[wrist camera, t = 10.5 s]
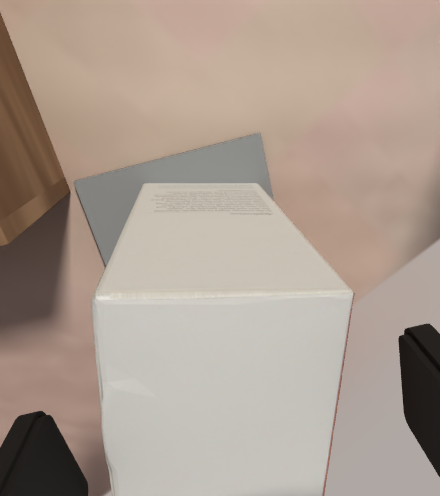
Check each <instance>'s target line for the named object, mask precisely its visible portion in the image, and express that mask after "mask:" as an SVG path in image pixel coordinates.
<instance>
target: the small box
mask: <svg viewBox="0 0 440 496" xmlns="http://www.w3.org/2000/svg"><path fill="white" fill-rule="evenodd" d="M354 294H355V293H354V292H353V291H352V290H351V289H350V288H349V287H348V285H347V284H346V283H345V282H344V281H343V280H342V278H341V277H340V276H339V275H338V274H337V273H336V272H335V271H334V269H333V268H332V267H331V266H330V265H329V264H328V263H327V261H326V260H325V259H324V258H323V257H322V256H321V255H320V253H319V252H318V251H317V250H316V249H315V248H314V246H313V245H312V244H311V243H310V242H309V241H308V240H307V239H306V238H305V236H304V235H303V234H302V233H301V232H300V231H299V229H298V228H297V227H296V226H295V225H294V224H293V223H292V222H291V220H290V219H289V218H288V217H287V216H286V215H285V214H284V212H283V211H282V210H281V209H280V208H279V207H278V206H277V204H276V203H275V202H274V201H273V200H272V199H271V197H269V196H268V194H267V193H266V192H265V191H264V190H263V189H262V187H261V186H260V185H259V184H258V183H145V184H143V185H142V188H141V190H140V193H139V195H138V197H137V199H136V202H135V204H134V206H133V208H132V210H131V213H130V215H129V217H128V219H127V221H126V223H125V226H124V228H123V230H122V232H121V235H120V237H119V239H118V241H117V243H116V246H115V248H114V251H113V253H112V255H111V257H110V259H109V262H108V264H107V266H106V268H105V270H104V273H103V275H102V277H101V279H100V282H99V284H98V286H97V288H96V291H95V293H94V295H93V298H92V318H93V331H94V341H95V353H96V363H97V371H98V383H99V393H100V404H101V421H102V436H103V443H104V449H105V458H106V462H107V465H108V470H109V476H110V483H111V490H112V496H324V493H325V485H326V479H327V472H328V466H329V459H330V453H331V446H332V439H333V430H334V425H335V420H336V413H337V405H338V400H339V393H340V387H341V380H342V371H343V366H344V358H345V352H346V345H347V338H348V332H349V325H350V318H351V311H352V304H353V299H354Z"/></svg>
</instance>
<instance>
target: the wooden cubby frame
mask: <svg viewBox="0 0 440 496" xmlns="http://www.w3.org/2000/svg"><path fill="white" fill-rule="evenodd" d="M69 192H70V189H69V187H68V184H67V182H66V179H65V177H64V174H63V172H62V169H61V166H60V164H59V161H58V159H57V156H56V154H55V151H54V149H53V146H52V143H51V141H50V138H49V136H48V133H47V131H46V128H45V126H44V123H43V120H42V118H41V115H40V113H39V110H38V108H37V105H36V103H35V100H34V98H33V95H32V92H31V90H30V87H29V85H28V82H27V80H26V77H25V75H24V72H23V69H22V67H21V64H20V62H19V59H18V57H17V54H16V52H15V49H14V46H13V44H12V41H11V39H10V36H9V34H8V31H7V29H6V26H5V23H4V21H3V18H2V16H1V13H0V246H3V245H7V244H9V243H10V242H11V241H13V240H14V239H15V238H16V237H17V236H19V235H20V234H21V233H22V232H23V231H24V230H26V229H27V228H28V227H29V226H30V225H32V224H33V223H34V222H35V221H36V220H37V219H39V218H40V217H41V216H42V215H43V214H45V213H46V212H47V211H48V210H49V209H50V208H52V207H53V206H54V205H55V204H56V203H57V202H59V201H60V200H61V199H62V198H63V197H65V196H66V195H67V194H68V193H69Z"/></svg>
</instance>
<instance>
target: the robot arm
mask: <svg viewBox="0 0 440 496" xmlns="http://www.w3.org/2000/svg"><path fill="white" fill-rule="evenodd" d="M399 353H400V366H401V380H402V394H403V406H404V414H405V418H406V421H407V424H408V426H409V428H410V429H411V431H412V432H413V434H414V436H415V437H416V439H417V441H418V442H419V444H420V446H421V447H422V449H423V451H424V452H425V454H426V456H427V457H428V459H429V461H430V462H431V464H432V465H433V467H434V469H435V470H436V472H437V474H438V475H439V477H440V334H439V333H438V332H437V330H436V329H435V328H434V327H433V326H431V325H430V324H424V325H419V326H415V327H411V328H407V329H405V331H404V335H402V336H399ZM0 496H88V483H87V481H86V478H85V477H84V475H83V473H82V471H81V469H80V467H79V466H78V464H77V462H76V460H75V458H74V456H73V455H72V453H71V451H70V449H69V447H68V445H67V444H66V442H65V440H64V438H63V436H62V434H61V432H60V431H59V429H58V427H57V425H56V423H55V421H54V420H53V418H52V417H51V416H50V415H46V414H45V413H44V412H43V411H38V412H34V413H29V414H25V415H20V416H19V417H17V419H16V420H15V422H14V423H13V425H12V427H11V429H10V431H9V433H8V435H7V436H6V438H5V440H4V442H3V444H2V446H1V447H0Z"/></svg>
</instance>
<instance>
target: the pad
mask: <svg viewBox="0 0 440 496" xmlns="http://www.w3.org/2000/svg"><path fill="white" fill-rule="evenodd" d="M145 183H258V184H259V185H260V186H261V187H262V189H263V190H264V191H265V192H266V193H267V194H268V196H269V197H271V199H272V200H273V201H274V199H273V194H272V189H271V184H270V179H269V173H268V168H267V163H266V158H265V153H264V148H263V143H262V137H261V134H260V133H257V134H253V135H249V136H245V137H241V138H238V139H234V140H230V141H226V142H222V143H218V144H214V145H210V146H207V147H203V148H199V149H195V150H191V151H187V152H183V153H179V154H176V155H172V156H168V157H164V158H160V159H156V160H152V161H149V162H145V163H141V164H137V165H133V166H129V167H125V168H121V169H118V170H114V171H110V172H106V173H102V174H98V175H94V176H90V177H87V178H83V179H79V180H76V181H74V185H75V187H76V190H77V193H78V195H79V198H80V200H81V203H82V206H83V208H84V211H85V213H86V216H87V219H88V221H89V224H90V226H91V229H92V232H93V234H94V237H95V239H96V242H97V245H98V247H99V250H100V252H101V255H102V258H103V260H104V263H105V265H106V266H107V264H108V262H109V259H110V257H111V255H112V253H113V251H114V248H115V246H116V243H117V241H118V239H119V237H120V235H121V232H122V230H123V228H124V226H125V223H126V221H127V219H128V217H129V215H130V213H131V210H132V208H133V206H134V204H135V202H136V199H137V197H138V195H139V193H140V190H141V188H142V185H143V184H145Z"/></svg>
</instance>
